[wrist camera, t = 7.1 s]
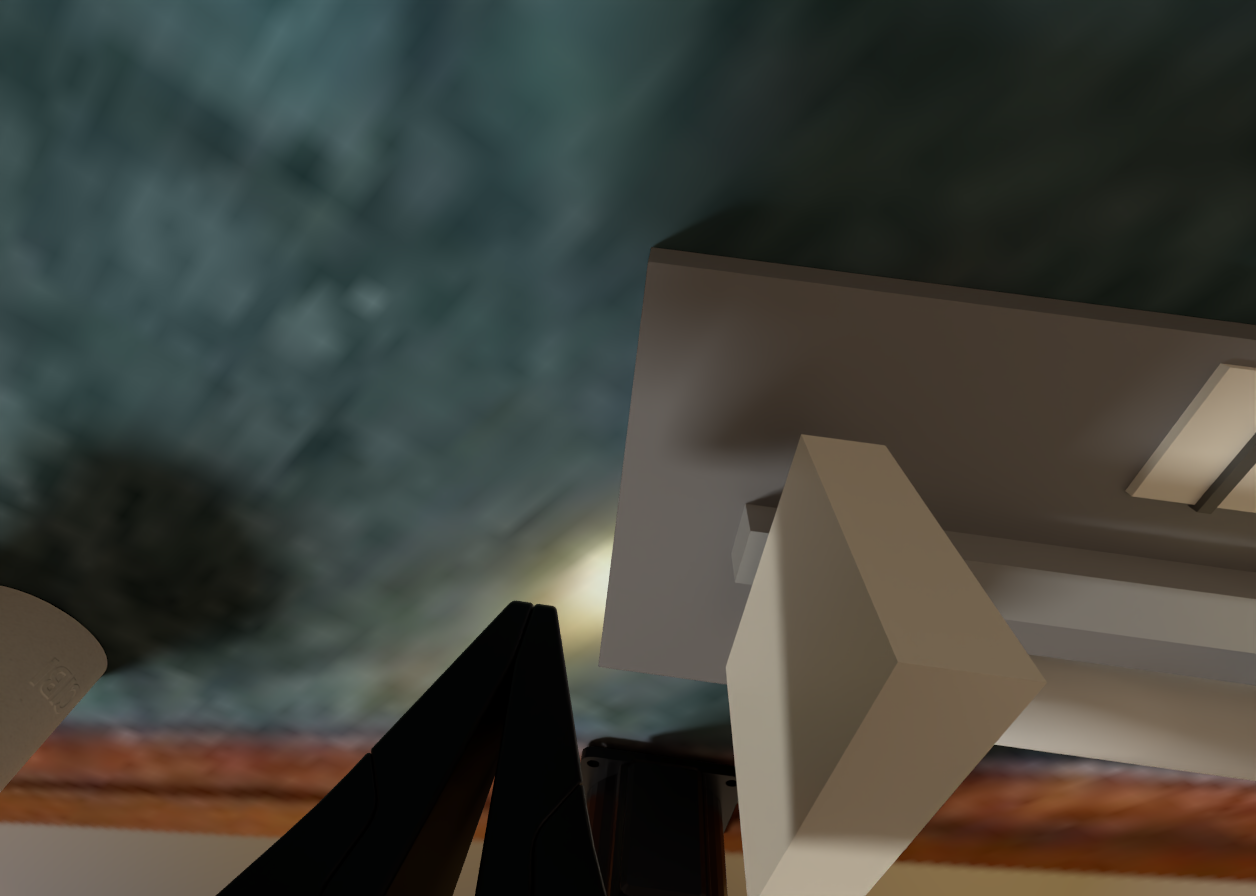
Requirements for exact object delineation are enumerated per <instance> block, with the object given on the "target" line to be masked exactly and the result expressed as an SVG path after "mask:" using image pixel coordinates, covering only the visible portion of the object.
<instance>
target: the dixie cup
mask: <svg viewBox="0 0 1256 896" xmlns="http://www.w3.org/2000/svg"><path fill="white" fill-rule="evenodd" d="M106 669H107V657H106V654H105V652H104V650H103V648H102V646H101V645H100V643H99V642H98V641H97V640H96V638H95V637H94V636H93V635H92V634H91V633H90V632H89V631H88V630H87V629H86V628H85V627H84V626H82V625H81V624H80V623H79V622H78V621H76V620H75V619H74V618H72V617H71V616H69V615H68V614H66V613H65V612H63V611H62V610H60V609H58V608H57V607H55V606H53V605H51V604H49V603H47V602H45V601H43V600H41V599H39V598H37V597H34V596H32V595H30V594H27V593H24V592H22V591H19V590H16V589H12V588H9V587H5V586H0V792H1V791H2V789H3V788H4V787H5V786H6V785H7V784H8V783H9V781H10V780H11V779H12V778H13V777H14V776H15V775H16V773H17V772H18V771H19V770H20V769H21V768H22V766H23V765H24V764H25V763H26V762H27V761H28V760H29V758H30V757H31V756H32V755H33V754H34V753H35V752H36V750H37V749H38V748H39V747H40V746H41V745H42V744H43V742H44V741H45V740H46V739H47V738H48V737H49V736H50V734H51V733H52V732H53V731H54V730H55V729H56V728H57V726H58V725H59V724H60V723H61V722H62V721H63V720H64V718H65V717H66V716H67V715H68V714H69V713H70V711H71V710H72V709H73V708H74V707H75V706H76V705H77V703H78V702H79V701H80V700H81V699H82V698H83V697H84V695H85V694H86V693H87V692H88V691H89V690H90V689H91V687H92V686H93V685H94V684H95V683H96V682H97V681H98V679H99V678H100V677H101V676H102V675H103V674H104V672H105V671H106Z"/></svg>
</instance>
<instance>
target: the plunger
mask: <svg viewBox="0 0 1256 896" xmlns="http://www.w3.org/2000/svg"><path fill="white" fill-rule="evenodd" d="M726 676H727V686H728V697H729V707H730V718H731V728H732V739H733V750H734V760H735V771H736V781H737V792H738V802H739V813H740V824H741V834H742V845H743V855H744V865H745V876H746V887H747V896H865V895H866V894H867V893H868V892H869V891H870V890H871V888H872V887H873V886H874V885H875V884H876V883H877V881H878V880H879V879H880V878H881V877H882V875H883V874H884V873H885V872H886V871H887V870H888V869H889V867H890V866H891V865H892V864H893V863H894V862H895V860H896V859H897V858H898V857H899V856H900V854H901V853H902V852H903V851H904V850H905V849H906V847H907V846H908V845H909V844H910V843H911V842H912V840H913V839H914V838H915V837H916V836H917V835H918V833H919V832H920V831H921V830H922V829H923V828H924V826H925V825H926V824H927V823H928V822H929V820H930V819H931V818H932V817H933V816H934V815H935V813H936V812H937V811H938V810H939V809H940V808H941V806H942V805H943V804H944V803H945V802H946V801H947V799H948V798H949V797H950V796H951V795H952V794H953V792H954V791H955V790H956V789H957V788H958V787H959V785H960V784H961V783H962V782H963V781H964V779H965V778H966V777H967V776H968V775H969V774H970V772H971V771H972V770H973V769H974V768H975V767H976V765H977V764H978V763H979V762H980V761H981V760H982V758H983V757H984V756H985V755H986V754H987V753H988V751H989V750H990V749H991V748H992V747H993V746H994V745H1001V746H1009V747H1016V748H1023V749H1030V750H1037V751H1044V752H1052V753H1059V754H1066V755H1073V756H1080V757H1087V758H1095V759H1102V760H1109V761H1116V762H1123V763H1130V764H1138V765H1145V766H1152V767H1159V768H1166V769H1173V770H1181V771H1188V772H1195V773H1202V774H1209V775H1216V776H1224V777H1231V778H1238V779H1245V780H1252V781H1256V686H1254V685H1248V684H1241V683H1233V682H1226V681H1219V680H1211V679H1204V678H1197V677H1190V676H1182V675H1175V674H1168V673H1160V672H1153V671H1146V670H1139V669H1131V668H1124V667H1117V666H1109V665H1102V664H1095V663H1088V662H1080V661H1073V660H1066V659H1058V658H1051V657H1044V656H1037V655H1029V654H1027V652H1026V651H1025V649H1024V648H1023V646H1022V645H1021V643H1020V642H1019V640H1018V639H1017V638H1016V636H1015V635H1014V633H1013V632H1012V630H1011V629H1010V627H1009V626H1008V624H1007V623H1006V621H1005V620H1004V619H1003V617H1002V616H1001V614H1000V613H999V611H998V610H997V608H996V607H995V605H994V604H993V602H992V601H991V599H990V598H989V597H988V595H987V594H986V592H985V591H984V589H983V588H982V586H981V585H980V583H979V582H978V580H977V579H976V578H975V576H974V575H973V573H972V572H971V570H970V569H969V567H968V566H967V564H966V563H965V561H964V560H963V558H962V557H961V556H960V554H959V553H958V551H957V550H956V548H955V547H954V545H953V544H952V542H951V541H950V539H949V538H948V536H947V535H946V534H945V532H944V531H943V529H942V528H941V526H940V525H939V523H938V522H937V520H936V519H935V517H934V516H933V515H932V513H931V512H930V510H929V509H928V507H927V506H926V504H925V503H924V501H923V500H922V498H921V497H920V495H919V494H918V493H917V491H916V490H915V488H914V487H913V485H912V484H911V482H910V481H909V479H908V478H907V476H906V475H905V474H904V472H903V471H902V469H901V468H900V466H899V465H898V463H897V462H896V460H895V459H894V457H893V456H892V454H891V453H890V452H889V450H888V449H887V447H886V446H885V445H879V444H871V443H863V442H856V441H848V440H841V439H833V438H826V437H818V436H811V435H803V434H801V436H800V440H799V443H798V446H797V449H796V452H795V455H794V458H793V461H792V464H791V467H790V470H789V473H788V477H787V480H786V483H785V486H784V489H783V492H782V495H781V498H780V501H779V504H778V507H777V510H776V514H775V517H774V520H773V523H772V526H771V529H770V532H769V535H768V538H767V541H766V544H765V547H764V550H763V554H762V557H761V560H760V563H759V566H758V569H757V572H756V575H755V578H754V581H753V584H752V587H751V591H750V594H749V597H748V600H747V603H746V606H745V609H744V612H743V615H742V618H741V621H740V624H739V628H738V631H737V634H736V637H735V640H734V643H733V646H732V649H731V652H730V655H729V658H728V661H727V665H726Z"/></svg>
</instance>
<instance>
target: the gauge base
mask: <svg viewBox="0 0 1256 896" xmlns="http://www.w3.org/2000/svg"><path fill="white" fill-rule="evenodd" d="M801 434H803V435H811V436H818V437H826V438H833V439H841V440H848V441H856V442H863V443H871V444H879V445H885V446H886V447H887V449H888V450H889V452H890V453H891V454H892V456H893V457H894V459H895V460H896V462H897V463H898V465H899V466H900V468H901V469H902V471H903V472H904V474H905V475H906V476H907V478H908V479H909V481H910V482H911V484H912V485H913V487H914V488H915V490H916V491H917V493H918V494H919V495H920V497H921V498H922V500H923V501H924V503H925V504H926V506H927V507H928V509H929V510H930V512H931V513H932V515H933V516H934V517H935V519H936V520H937V522H938V523H939V525H940V526H941V528H942V529H943V531H944V532H945V534H946V535H947V536H948V538H949V539H950V541H951V542H952V544H953V545H954V547H955V548H956V550H957V551H958V553H959V554H960V556H961V557H962V558H963V560H964V561H965V563H966V564H967V566H968V567H969V569H970V570H971V572H972V573H973V575H974V576H975V578H976V579H977V580H978V582H979V583H980V585H981V586H982V588H983V589H984V591H985V592H986V594H987V595H988V597H989V598H990V599H991V601H992V602H993V604H994V605H995V607H996V608H997V610H998V611H999V613H1000V614H1001V616H1002V617H1003V619H1004V620H1005V621H1006V623H1007V624H1008V626H1009V627H1010V629H1011V630H1012V632H1013V633H1014V635H1015V636H1016V638H1017V639H1018V640H1019V642H1020V643H1021V645H1022V646H1023V648H1024V649H1025V651H1026V652H1027V654H1029V655H1037V656H1044V657H1051V658H1058V659H1066V660H1073V661H1080V662H1088V663H1095V664H1102V665H1109V666H1117V667H1124V668H1131V669H1139V670H1146V671H1153V672H1160V673H1168V674H1175V675H1182V676H1190V677H1197V678H1204V679H1211V680H1219V681H1226V682H1233V683H1241V684H1248V685H1254V686H1256V325H1251V324H1243V323H1236V322H1228V321H1220V320H1212V319H1205V318H1197V317H1189V316H1181V315H1174V314H1166V313H1158V312H1150V311H1143V310H1135V309H1127V308H1119V307H1112V306H1104V305H1096V304H1088V303H1081V302H1073V301H1065V300H1057V299H1050V298H1042V297H1034V296H1026V295H1019V294H1011V293H1003V292H995V291H988V290H980V289H972V288H964V287H957V286H949V285H941V284H933V283H926V282H918V281H910V280H902V279H895V278H887V277H879V276H871V275H863V274H856V273H848V272H840V271H832V270H825V269H817V268H809V267H801V266H794V265H786V264H778V263H770V262H763V261H755V260H747V259H739V258H732V257H724V256H716V255H708V254H701V253H693V252H685V251H677V250H670V249H662V248H654V247H651V251H650V256H649V260H648V267H647V275H646V283H645V292H644V300H643V308H642V316H641V324H640V332H639V340H638V348H637V356H636V365H635V373H634V381H633V389H632V397H631V405H630V413H629V421H628V430H627V438H626V446H625V454H624V462H623V470H622V478H621V486H620V494H619V503H618V511H617V519H616V527H615V535H614V543H613V551H612V559H611V568H610V576H609V584H608V592H607V600H606V608H605V616H604V624H603V632H602V641H601V649H600V657H599V665H598V667H605V668H612V669H619V670H626V671H634V672H641V673H648V674H655V675H662V676H670V677H677V678H684V679H691V680H698V681H706V682H713V683H720V684H727V676H726V665H727V661H728V658H729V655H730V652H731V649H732V646H733V643H734V640H735V637H736V634H737V631H738V628H739V624H740V621H741V618H742V615H743V612H744V609H745V606H746V603H747V600H748V597H749V594H750V591H751V587H752V584H753V581H754V578H755V575H756V572H757V569H758V566H759V563H760V560H761V557H762V554H763V550H764V547H765V544H766V541H767V538H768V535H769V532H770V529H771V526H772V523H773V520H774V517H775V514H776V510H777V507H778V504H779V501H780V498H781V495H782V492H783V489H784V486H785V483H786V480H787V477H788V473H789V470H790V467H791V464H792V461H793V458H794V455H795V452H796V449H797V446H798V443H799V440H800V436H801Z"/></svg>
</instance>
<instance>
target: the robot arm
mask: <svg viewBox="0 0 1256 896" xmlns="http://www.w3.org/2000/svg"><path fill="white" fill-rule="evenodd" d="M494 776H495V779H494ZM493 779H494V785H493V791H492V797H491V803H490V809H489V815H488V821H487V827H486V832H485V838H484V844H483V850H482V857H481V862H480V868H479V874H478V880H477V886H476V893H475V896H728V894H727V879H726V866H725V865H726V864H725V850H724V835H723V834H724V831H725V829H726V827H727V825H728V822H729V820H730V818H731V815H732V813H733V811H734V808H735V806H736V804H737V802H738V792H737V781H736V771H735V766H730V765H723V764H716V763H708V762H701V761H694V760H687V759H680V758H673V757H666V756H659V755H652V754H644V753H637V752H630V751H623V750H616V749H609V748H602V747H592V746H590V747H586V748H585V749H583V751H582V756H581V763H580V758H579V752H578V745H577V739H576V732H575V726H574V719H573V713H572V706H571V700H570V693H569V687H568V680H567V674H566V667H565V660H564V654H563V647H562V641H561V634H560V628H559V621H558V615H557V609H556V608H555V607H554V606H549V605H542V604H536V605H535V606H534V605H533V604H532V603H529V602H522V601H512V602H511V603H509V604H508V605H507V607H506V608H505V609H504V610H503V611H502V612H501V613H500V614H499V615H498V616H497V617H496V618H495V619H494V620H493V621H492V622H491V623H490V624H489V625H488V627H487V628H486V629H485V630H484V631H483V632H482V633H481V634H480V635H479V636H478V637H477V638H476V639H475V640H474V641H473V642H472V643H471V644H470V646H469V647H468V648H467V649H466V650H465V651H464V652H463V653H462V654H461V655H460V656H459V657H458V658H457V659H456V660H455V661H454V662H453V663H452V665H451V666H450V667H449V668H448V669H447V670H446V671H445V672H444V673H443V674H442V675H441V676H440V677H439V678H438V679H437V680H436V681H435V682H434V684H433V685H432V686H431V687H430V688H429V689H428V690H427V691H426V692H425V693H424V694H423V695H422V696H421V697H420V698H419V699H418V700H417V701H416V702H415V704H414V705H413V706H412V707H411V708H410V709H409V710H408V711H407V712H406V713H405V714H404V715H403V716H402V717H401V718H400V719H399V720H398V721H397V723H396V724H395V725H394V726H393V727H392V728H391V729H390V730H389V731H388V732H387V733H386V734H385V735H384V736H383V737H382V738H381V739H380V740H379V742H378V743H377V744H376V745H375V746H374V747H373V748H372V749H371V753H367V754H366V755H365V756H364V757H363V758H362V759H361V760H360V761H359V762H358V763H357V764H356V765H355V767H354V768H353V769H352V770H351V771H350V772H349V773H348V774H347V775H346V776H345V777H344V778H343V779H342V780H341V781H340V782H339V783H338V784H337V785H336V786H335V787H334V788H333V789H332V790H331V791H330V792H329V793H328V794H327V795H326V796H325V797H324V798H323V799H322V800H321V801H320V802H319V803H318V804H317V805H316V806H315V807H314V808H313V809H312V810H311V811H309V812H308V813H307V814H306V815H305V816H304V817H303V818H302V819H301V820H300V821H299V822H298V823H296V824H295V825H294V826H293V827H292V828H291V829H290V830H289V831H288V832H287V833H286V834H284V835H283V836H282V837H281V838H280V839H279V840H278V841H277V842H276V843H274V844H273V845H272V846H271V847H270V848H269V849H268V850H267V851H266V852H264V853H263V854H262V855H261V856H260V857H259V858H258V859H257V860H255V861H254V862H253V863H252V864H251V865H250V866H249V867H247V868H246V869H245V870H244V871H243V872H242V873H241V874H240V875H238V876H237V877H236V878H235V879H234V880H233V881H232V882H231V883H230V884H228V885H227V886H226V887H225V888H224V889H223V890H221V891H220V892H219V893H218V894H217V895H216V896H453V893H454V890H455V887H456V884H457V881H458V878H459V875H460V873H461V870H462V867H463V864H464V861H465V859H466V856H467V853H468V850H469V847H470V845H471V842H472V839H473V836H474V833H475V830H476V827H477V825H478V822H479V819H480V816H481V813H482V810H483V808H484V805H485V802H486V799H487V796H488V793H489V791H490V788H491V785H492V782H493Z"/></svg>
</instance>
